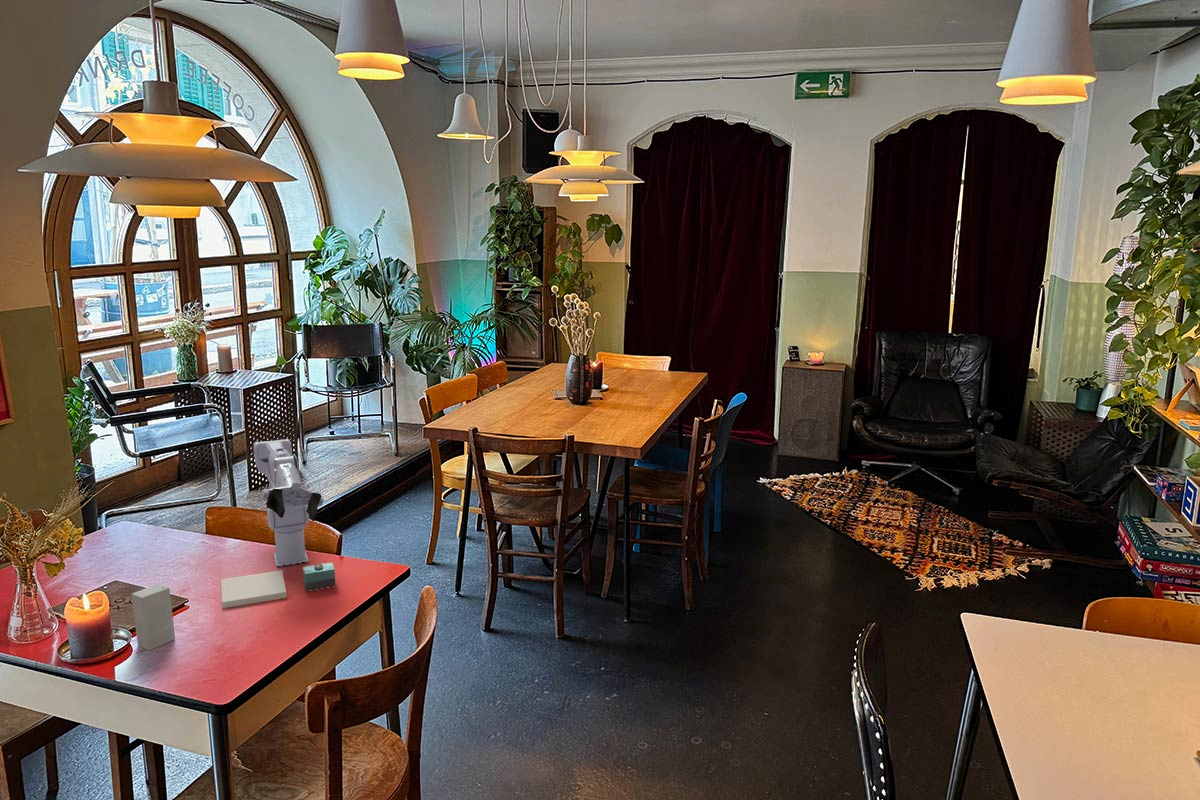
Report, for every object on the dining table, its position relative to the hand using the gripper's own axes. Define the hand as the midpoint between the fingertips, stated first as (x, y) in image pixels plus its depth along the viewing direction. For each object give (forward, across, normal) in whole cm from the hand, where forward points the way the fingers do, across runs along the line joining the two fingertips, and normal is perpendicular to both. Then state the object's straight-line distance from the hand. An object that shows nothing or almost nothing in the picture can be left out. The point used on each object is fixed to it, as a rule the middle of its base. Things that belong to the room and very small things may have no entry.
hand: (298, 516), depth 196 cm
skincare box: (+18, -26, +24) cm, 40 cm away
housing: (+5, +9, +16) cm, 19 cm away
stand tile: (+1, -5, +22) cm, 22 cm away
